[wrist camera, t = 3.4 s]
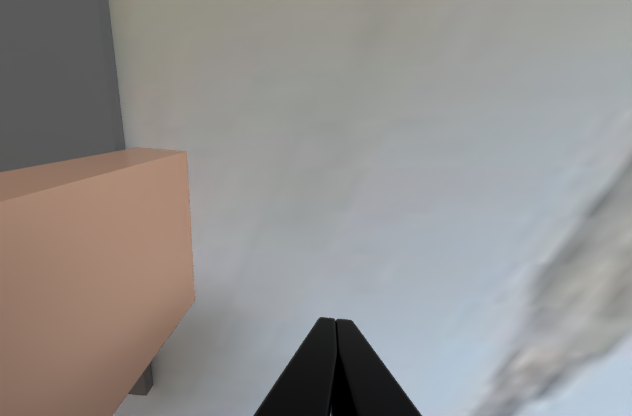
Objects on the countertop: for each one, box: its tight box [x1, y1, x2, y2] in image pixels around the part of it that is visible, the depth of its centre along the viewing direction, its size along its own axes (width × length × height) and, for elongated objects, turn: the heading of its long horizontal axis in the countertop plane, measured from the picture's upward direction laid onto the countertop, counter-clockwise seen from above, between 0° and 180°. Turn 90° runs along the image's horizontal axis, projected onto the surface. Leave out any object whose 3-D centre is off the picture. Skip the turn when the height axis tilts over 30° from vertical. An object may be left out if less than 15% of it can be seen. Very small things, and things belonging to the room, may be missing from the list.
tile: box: [0, 147, 195, 416], centre depth 9 cm, size 7×2×9 cm, turn 176°
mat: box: [0, 0, 153, 396], centre depth 13 cm, size 18×10×1 cm, turn 176°
